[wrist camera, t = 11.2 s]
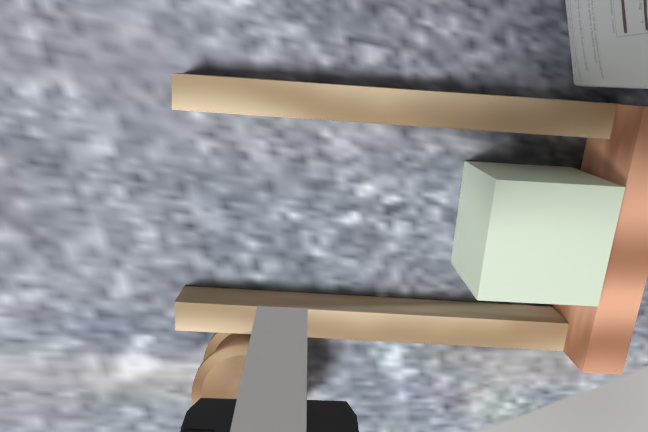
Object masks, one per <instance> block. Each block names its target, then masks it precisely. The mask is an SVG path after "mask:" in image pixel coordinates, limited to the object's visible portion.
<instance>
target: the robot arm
mask: <svg viewBox="0 0 648 432" xmlns="http://www.w3.org/2000/svg"><path fill="white" fill-rule="evenodd" d="M307 326H308V308H291V307H268V306H257V309H256V313H255V318H254V323H253V327H252V332H251V336H250V341H249V346H248V350H247V355H246V360H245V364H244V369H243V373H242V378H241V383H240V387H239V392H238V397H237V399H221V398H200V399H199V400H198V401H197V402H196V403H195V404H194V405H193V406H192V407H191V408H190V409H189V410H188V411H187V413H186V415H185V418H184V421H183V424H182V427H181V432H359V430H358V422H357V416H356V414H355V413H354V411H353V410H352V409H351V407H350V406H349V404H348V403H347V402H346V401H320V400H307Z"/></svg>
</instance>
